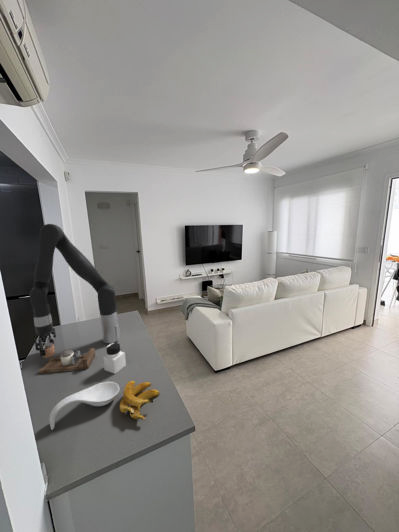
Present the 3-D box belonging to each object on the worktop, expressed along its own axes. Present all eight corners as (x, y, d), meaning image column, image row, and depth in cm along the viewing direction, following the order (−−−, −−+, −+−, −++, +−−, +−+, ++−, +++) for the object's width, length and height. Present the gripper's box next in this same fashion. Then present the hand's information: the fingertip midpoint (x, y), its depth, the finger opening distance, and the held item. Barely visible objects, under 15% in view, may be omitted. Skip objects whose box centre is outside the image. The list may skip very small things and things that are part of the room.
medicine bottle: (126, 365, 106) (124, 342, 104) (115, 374, 99) (112, 350, 97) (115, 362, 109) (113, 340, 107) (104, 370, 102) (101, 347, 100)
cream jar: (76, 359, 111) (75, 349, 110) (72, 366, 105) (70, 355, 104) (65, 360, 110) (63, 350, 109) (59, 367, 104) (57, 356, 103)
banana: (126, 433, 71) (124, 418, 70) (115, 396, 87) (114, 383, 86) (169, 412, 78) (168, 398, 77) (152, 381, 94) (151, 369, 93)
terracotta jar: (57, 351, 120) (55, 341, 119) (51, 357, 114) (50, 347, 113) (46, 352, 119) (44, 342, 118) (40, 358, 114) (38, 348, 113)
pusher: (81, 358, 111) (79, 349, 110) (75, 366, 105) (73, 356, 104) (78, 358, 111) (77, 349, 110) (72, 366, 105) (71, 357, 104)
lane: (95, 356, 114) (94, 348, 113) (88, 368, 104) (86, 359, 103) (50, 360, 111) (49, 352, 110) (38, 373, 101) (37, 364, 101)
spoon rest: (114, 384, 93) (112, 369, 92) (124, 400, 84) (123, 384, 83) (48, 416, 78) (45, 399, 77) (53, 439, 69) (49, 420, 68)
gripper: (43, 328, 107) (47, 358, 110) (58, 317, 121) (61, 343, 124) (26, 329, 106) (31, 359, 109) (43, 318, 120) (47, 344, 123)
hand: (47, 351), depth 116 cm, fingers open, 8 cm apart
